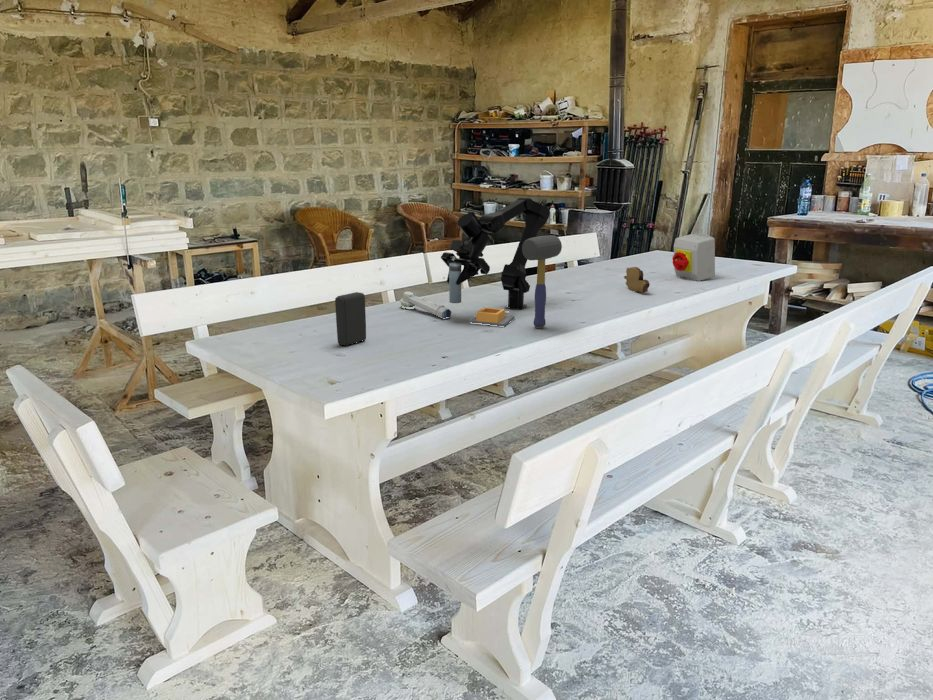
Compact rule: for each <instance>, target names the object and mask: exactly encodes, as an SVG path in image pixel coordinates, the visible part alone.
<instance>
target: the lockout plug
mask: <svg viewBox="0 0 933 700" xmlns="http://www.w3.org/2000/svg"><path fill="white" fill-rule="evenodd" d="M461 272H462V265H461V263H457V262H454V263H449V267H448V273H449V283H448V284H449V285H448V287H449V292H448V294H449V298H448V299H449V301H448V302H449V303H451V304H460V303H462V283H461V284H459V285H457V284H456V281H457V279H458V277H459V276H460V274H461Z"/></svg>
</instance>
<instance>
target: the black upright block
mask: <svg viewBox="0 0 933 700" xmlns="http://www.w3.org/2000/svg"><path fill="white" fill-rule="evenodd" d="M334 299H335V300H334V304H335V306H334V307H335V320H336V337H337V344H338V345H339V344H341V345H340V346H342V345H348V346H350V345H349V344H352V343H355V344H357V343H356V342H359V341H362V340H364V341H366V339H367V321H366V320H367V319H366V318H367V317H366V315H367V314H366V296H365V294H364V293H363V292H357V291H356V292H351V293H346V294H342V295H338V296H336V297H335V298H334ZM362 342H363V341H362ZM359 343H360V342H359ZM352 345H353V344H352Z"/></svg>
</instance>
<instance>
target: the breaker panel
mask: <svg viewBox="0 0 933 700" xmlns="http://www.w3.org/2000/svg"><path fill="white" fill-rule="evenodd" d="M505 309H506V308H505ZM505 309H504V308H494V307H483V308H481V309H479V310H477V311H476V313H475V317H473V318H472V319H470V320H469V323H470V322H472V323H482V324H490V325H497V326H505V325H506V324H508V323H509V322H510V321H512V320H513V319H514V318H515V319H516V315H510V311H508V310H507V311H506V310H505ZM515 319H514V320H515ZM514 320H513V321H514ZM513 321H512V322H513ZM510 323H511V322H510ZM510 323H509V324H510ZM509 324H508V325H509ZM505 327H506V326H505Z"/></svg>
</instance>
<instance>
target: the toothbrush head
mask: <svg viewBox="0 0 933 700" xmlns="http://www.w3.org/2000/svg"><path fill="white" fill-rule="evenodd" d="M399 302H400V306H401V305H402V306H404V307H413V306H415V307H418V308H420V309H422V310H424V311H426V312H427V313H430V314H432V315H433V314H434V316H435V315H436V317H437V316H439V317H442V318H446V317H450V318H451V317H452V313H453V312H452V310H450V309H449V308H447V307H445V305H440V304H437V303H436V302H435V303H434V302H432V301H430V300H428V299H425V298H422V297H420V296H417V295H414V293H413V292H411V291H404V293H403V294H402V298H400V300H399Z"/></svg>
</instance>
